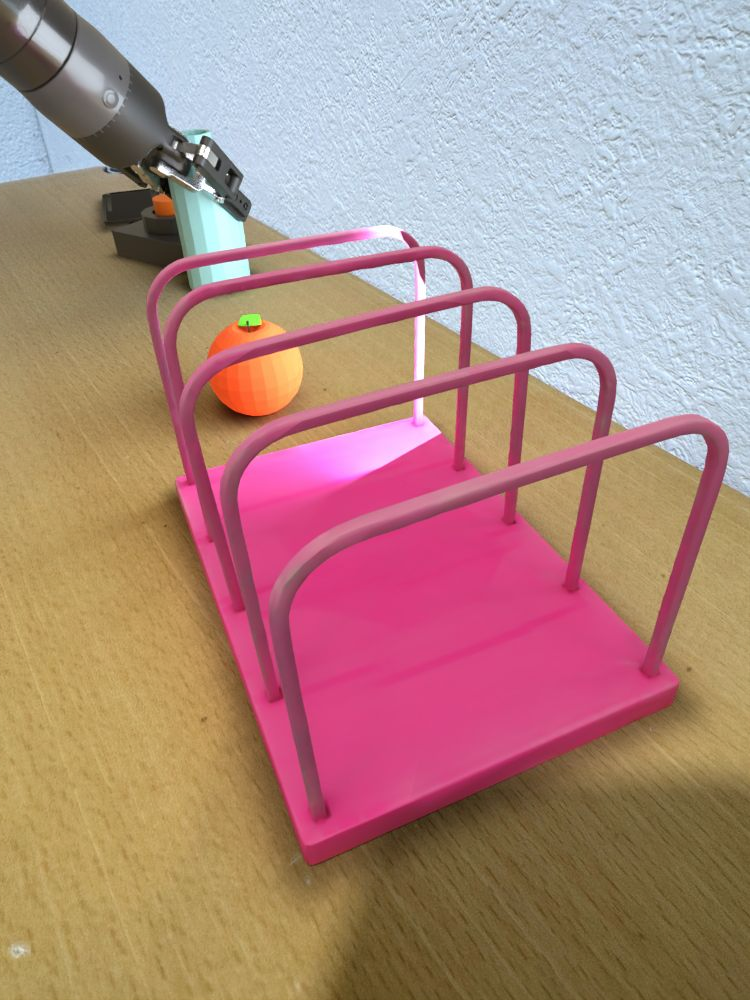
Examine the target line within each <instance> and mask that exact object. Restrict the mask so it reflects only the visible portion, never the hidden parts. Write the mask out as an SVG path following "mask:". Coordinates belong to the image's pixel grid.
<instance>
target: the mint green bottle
mask: <svg viewBox="0 0 750 1000" xmlns="http://www.w3.org/2000/svg"><path fill="white" fill-rule="evenodd" d="M180 132H181V133H182V134H184V136H185V137H186V138H187V140H188V141H190V142H191V143H194V144H199V142H200V140H201V137H202V136H208V137H210V138H211V139H213V138H212V137H213V136H212V131H211V130H210V129H206V128H194V129H186V130H182V131H180ZM194 175H195V168H194V166H193V165H192V167H191V169H190V172H189V174H188V176H187V177H186V178H188V179H189V180H191V181H192V180H193V177H194ZM168 182H169V187H170V192H171V197H172V202H173V206H174V211H175V216H176V221H177V226H178V231H179V236H180V241H181V246H182V250H183V255H184V258H186V257H189V256H195V255H200V254H205V253H211V252H217V251H222V250H228V249H234V248H240V247H246V246H247V243H246V235H245V228H244V222H240V221H237V220H236V219H235V218H233V217H232V216H231V215H230V214H229V213H228V212H227V211H226V210H225V209H223V208H222V207H221V206H220V205H219V204H218V203H217V202H216V201H214V200H213V199H211V198H210V197H208V196H207V195H205V194H203V193H202V192H200V191H198V192H196V193H192V192H190V191H188V190H187V189H185V188H184V187H182V186H180V185H179V184H177V183H175V182H174V181H172V180H171V179H169V178H168ZM205 183H206V184H207V185H208V186H210V187H211V188H213V186H212V185H211V184H210V183H209V182H208V181H207V180H206V179H205ZM213 189H214V188H213ZM186 275H187V279H188V284H189V287H190V289H191V291H192V290H194V289H196V288H197V287H200V286H202V285H205V284H209V283H213V282H218V281H222V280H227V279H233V278H238V277H243V276H249V275H251V271H250V263H249V259H244V260H238V261H232V262H227V263H221V264H215V265H209V266H204V267H199V268H194V269H190V270H187V272H186Z"/></svg>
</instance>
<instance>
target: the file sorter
mask: <svg viewBox="0 0 750 1000" xmlns="http://www.w3.org/2000/svg"><path fill="white" fill-rule="evenodd" d="M377 238H393V239H396V240H399V241H401V242H402V243H404V244H405V245H406V246H407V248H401V249H397V250H389V251H385V252H379V253H372V254H366V255H360V256H354V257H347V258H342V259H335V260H330V261H329V260H328V261H323V262H318V263H312V264H306V265H300V266H295V267H294V266H293V267H287V268H283V269H277V270H271V271H265V272H260V273H255V274H250V275H249V276H243V277H238V278H233V279H227V280H222V281H218V282H213V283H209V284H205V285H202V286H200V287H197V288H196V289H194V290H192V289H191V291H189V292H187V293H186V294H185V295H184V296H183V297H181V298H180V300H179V301H178V302H177V303H176V304H174V306H173V308H172V309H171V311H170V313H169V314H168V317H167V319H166V321H165V325H164V329H163V334H162V330H161V329H162V328H161V325H160V319H159V311H158V303H159V299H160V297H161V296H162V292H163V290H164V288H165V286H166V285H167V284H168V283H169V282H170V281H172V279H174V277H176V276H177V275H179V274H181V273H184V272H183V271H187V270H190V269H194V268H199V267H204V266H209V265H215V264H221V263H227V262H232V261H238V260H244V259H248V260H250V259H255V258H261V257H262V258H263V257H267V256H274V255H278V254H283V253H288V252H295V251H301V250H308V249H312V248H318V247H325V246H335V245H339V244H345V243H349V242H350V243H351V242H352V243H353V242H358V241H365V240H371V239H377ZM428 259H434V260H441V261H444V262H447V263H448V264H450V266H451V267H453V268H454V270H455V271H456V273H457V276H458V277H459V282H460V290H457V291H454V292H449V293H443V294H439V295H436V296H431V297H426V263H425V260H428ZM405 263H406V264H407V263H414V265H413V266H414V301H409V302H405V303H401V304H397V305H392V306H388V307H383V308H380V309H374V310H371V311H367V312H363V313H362V312H361V313H358V314H354V315H351V316H347V317H342V318H339V319H338V318H337V319H334V320H331V321H330V320H329V321H326V322H323V323H318V324H314V325H310V326H307V327H302V328H299V329H294V330H291V331H285V332H286V333H282V334H279V335H275V336H271V337H267V338H263V339H259V340H256V341H252V342H248V343H245V344H241V345H237V346H234V347H231V348H228V349H225V350H223V351H220V352H219V353H217V354H215V355H213V356H211V357H210V358H208V359H207V358H206V359H205V361H204V360H203V362H201V363H200V365H199V366H198V367H197V368H196V369H195V370H194V371H193V373H192V374H191V375H190V376H189V377H188V379H187V381H186V383H185V384H184V378H183V374H182V369H181V365H180V359H179V353H178V348H177V347H178V346H177V338H178V332H179V329H180V327H181V324H182V322H183V320H184V318H185V316H186V315H187V314H188V313H189V312H190V311H191V310H192V309H193V308H195V307H196V306H197V305H199V304H201V303H202V302H204V301H206V300H210V299H212V298H216V297H220V296H224V295H231V294H234V293H241V292H245V291H251V290H256V289H261V288H268V287H273V286H278V285H283V284H284V285H285V284H289V283H295V282H302V281H306V280H311V279H312V280H313V279H318V278H322V277H323V278H324V277H328V276H334V275H342V274H347V273H352V272H355V271H361V270H369V269H371V270H372V269H376V268H382V267H385V266H391V265H400V264H405ZM481 302H497V303H501V304H503V305H505V306H506V307H507V308H508V309H509V310H511V312H512V314H513V317H514V319H515V322H516V349H515V354H514V355H510V356H507V357H503V358H498V359H494V360H491V361H490V360H489V361H487V362H483V363H479V364H475V365H471V352H472V337H473V335H472V334H473V318H474V317H473V315H474V304H476V303H481ZM460 307H461V309H460V330H459V348H458V349H459V351H458V369H455V370H451V371H447V372H443V373H439V374H436V375H431V376H428V377H424V376H425V375H424V374H425V371H424V370H425V339H426V337H425V328H426V327H425V325H426V315H429V314H433V313H437V312H441V311H447V310H450V309H455V308H460ZM145 311H146V312H145V313H146V319H147V325H148V328H149V333H150V337H151V342H152V347H153V351H154V355H155V359H156V363H157V368H158V371H159V375H160V379H161V384H162V388H163V391H164V392H163V393H164V395H165V400H166V404H167V408H168V412H169V416H170V420H171V423H172V427H173V428H172V429H173V432H174V435H175V440H176V443H177V448H178V452H179V455H180V459H181V463H182V467H183V472H184V474H182V475H178V476H176V478H175V479H174V483H175V484H174V485H175V488H176V492H177V493H176V494H177V497H178V500H179V504H180V506H181V509H182V513H183V515H184V518H185V520H186V523H187V526H188V529H189V532H190V535H191V538H192V541H193V544H194V547H195V550H196V552H197V555H198V558H199V561H200V564H201V566H202V569H203V572H204V576H205V578H206V581H207V584H208V586H209V590H210V593H211V596H212V598H213V601H214V604H215V607H216V611H217V612H218V613H217V614H218V615H219V618H220V621H221V624H222V628H223V630H224V633H225V635H226V639H227V641H228V645H229V647H230V650H231V654H232V656H233V659H234V663H235V665H236V667H237V670H238V673H239V676H240V680H241V681H242V685H243V688H244V690H245V694H246V696H247V700H248V702H249V705H250V707H251V710H252V714H253V717H254V720H255V722H256V725H257V728H258V731H259V734H260V737H261V739H262V742H263V745H264V749H265V751H266V754H267V757H268V759H269V762H270V765H271V768H272V772H273V774H274V777H275V779H276V782H277V786H278V787H279V790H280V794H281V796H282V800H283V802H284V805H285V809H286V811H287V814H288V817H289V819H290V823H291V824H292V829H293V831H294V835H295V837H296V840H297V843H298V846H299V849H300V852H301V855H302V858H303V860H304V862H305V863H306V864H307V865H311V866H315V865H317V864H320V863H323V862H325V861H327V860H329V859H332V858H334V857H336V856H337V855H341V854H342V853H345V852H347V851H349V850H351V849H354V848H356V847H358V846H360V845H362V844H365V843H367V842H369V841H372V840H374V839H377V838H378V837H380V836H383V835H385V834H387V833H389V832H392V831H394V830H396V829H398V828H400V827H403V826H405V825H408V824H409V823H412V822H415V821H416V820H418V819H420V818H423V817H425V816H428V815H429V814H432V813H434V812H436V811H439V810H441V809H443V808H445V807H447V806H449V805H451V804H454V803H456V802H459V801H461V800H463V799H465V798H467V797H470V796H472V795H474V794H477V793H479V792H480V791H483V790H485V789H488V788H489V787H492V786H495V785H496V784H498V783H501V782H503V781H506V780H507V779H510V778H512V777H515V776H517V775H519V774H521V773H523V772H526V771H528V770H530V769H533V768H534V767H537V766H539V765H541V764H544V763H546V762H548V761H550V760H553V759H555V758H557V757H560V756H562V755H565V754H566V753H568V752H571V751H574V750H575V749H578V748H580V747H582V746H584V745H586V744H588V743H591V742H593V741H596V740H597V739H600V738H603V737H604V736H607V735H608V734H611V733H613V732H615V731H618V730H619V729H622V728H624V727H626V726H629V725H631V724H633V723H635V722H637V721H639V720H642V719H644V718H646V717H648V716H651V715H653V714H655V713H658V712H660V711H662V710H664V709H666V708H669V707H670V706H672V704H673V703H674V700H675V697H676V694H677V691H678V688H679V685H680V681H681V680H680V679H679V676H677V674H676V673H675V672H673V670H671V668H670V667H669V666H668V665H667V664H666V663H665V661H663V659H664V655H665V652H666V649H667V647H668V643H669V640H670V638H671V635H672V632H673V628H674V625H675V623H676V619H677V617H678V614H679V612H680V608H681V606H682V602H683V600H684V597H685V594H686V591H687V588H688V585H689V582H690V578H691V576H692V575H693V570H694V567H695V564H696V562H697V558H698V555H699V553H700V550H701V546H702V544H703V541H704V538H705V535H706V532H707V530H708V526H709V523H710V520H711V517H712V514H713V511H714V509H715V506H716V503H717V499H718V496H719V494H720V491H721V487H722V485H723V481H724V478H725V475H726V471H727V467H728V463H729V462H728V461H729V457H730V456H729V455H730V442H729V438H728V435H727V434H726V432H725V430H723V429H722V428H721V426H720V425H718V424H717V423H715V422H713V421H712V420H710V419H709V418H707V417H705V416H702V415H700V414H697V413H684V414H679V415H678V414H677V415H674V416H669V417H665V418H662V419H659V420H656V421H651V422H649V423H645V424H642V425H638V426H635V427H632V428H629V429H626V430H622V431H619V432H615V433H613V434H610V429H611V424H612V419H613V413H614V408H615V404H616V397H617V385H618V379H617V373H616V370H615V367H614V365H613V364H612V361H611V360H610V359H609V357H608V356H607V355H605V353H603V352H602V351H601V350H599V349H597V348H596V347H594V346H592V345H589V344H586V343H583V342H567V343H562V344H556V345H551V346H547V347H543V348H538V349H534V350H532V324H531V323H532V322H531V317H530V314H529V311H528V309H527V307H526V306H525V304H524V303H523V302H522V301H521V299H519V297H517V296H515V295H514V294H513V293H511V292H510V291H508V290H506V289H504V288H502V287H498V286H493V285H492V286H491V285H482V286H478V287H474V284H473V277H472V274H471V272H470V270H469V266H468V265H467V264H466V262H465V261H464V260H463V259H462V258H461V257H460V256H459V255H458V254H456V253H455V252H453V251H452V250H450V249H448V248H445V247H442V246H439V245H422V246H421V245H420V244H419V242H418V241H417V240H416V239H415V238H414V237H413V236H412V235H411V234H410V233H408V232H407V231H405V230H403V229H402V228H399V227H396V226H393V225H376V226H368V227H367V226H366V227H361V228H360V227H359V228H354V229H346V230H340V231H334V232H328V233H319V234H313V235H308V236H301V237H295V238H288V239H284V240H277V241H271V242H264V243H259V244H253V245H246V247H240V248H234V249H228V250H222V251H217V252H211V253H205V254H200V255H195V256H189V257H186V258H182V259H179V260H177V261H175V262H173V263H171V264H169V265H168V266H167V267H163V268H162V269H161V270H160V272H159V273H158V274H157V275H156V276H155V277H154V279H153V281H152V283H151V285H150V287H149V289H148V291H147V295H146V302H145ZM413 318H414V347H413V348H414V349H413V353H414V363H413V381H409V382H405V383H401V384H398V385H394V386H390V387H386V388H382V389H378V390H375V391H371V392H367V393H364V394H363V393H362V394H360V395H356V396H352V397H349V398H344V399H340V400H337V401H333V402H330V403H327V404H322V405H319V406H316V407H311V408H308V409H305V410H301V411H298V412H294V413H291V414H287V415H285V416H281V417H277V418H276V419H273V420H271V421H268V422H267V423H265V424H264V425H261V426H260V427H258V428H257V429H256V430H254V431H252V432H251V433H250V434H249V435H248V436H247V437H246V438H245V439H244V440H243V441H241V442H240V444H239V445H238V446H236V448H235V449H234V450H233V451H232V453H231V455H230V456H229V458H228V459H227V461H226V463H225V464H221V465H218V466H213V467H210V468H209V467H208V468H207V466H206V462H205V459H204V454H203V451H202V446H201V442H200V439H199V434H198V431H197V426H196V420H195V418H196V417H195V409H196V403H197V401H198V398H199V396H200V394H201V392H202V391H203V389H204V387H205V386H206V385H207V384H208V383H209V380H210V379H211V378H212V377H213V376H214V375H216V374H217V373H219V372H220V371H221V370H223V369H224V368H227V367H229V366H232V365H234V364H238V363H241V362H244V361H247V360H251V359H254V358H258V357H262V356H266V355H269V354H273V353H277V352H281V351H284V350H288V349H292V348H295V347H298V348H299V347H303V346H306V345H310V344H314V343H319V342H321V341H325V340H329V339H333V338H337V337H342V336H346V335H349V334H352V333H356V332H359V331H360V332H361V331H365V330H367V329H371V328H375V327H380V326H385V325H388V324H393V323H398V322H402V321H406V320H409V319H413ZM575 359H577V360H578V359H579V360H585V361H588V362H590V363H592V365H593V366H594V368H595V369H596V372H597V374H598V380H599V392H598V398H597V406H596V413H595V414H596V415H595V418H594V423H593V427H592V433H591V440H589V441H586V442H582V443H578V444H576V445H573V446H570V447H567V448H563V449H561V450H558V451H554V452H551V453H548V454H545V455H542V456H539V457H535V458H532V459H529V460H525V461H522V453H523V452H522V450H523V441H524V440H523V439H524V429H525V418H526V410H527V409H526V408H527V407H526V406H527V399H528V398H527V397H528V385H529V373H530V370H534V369H537V368H540V367H543V366H544V367H545V366H548V365H552V364H556V363H561V362H564V361H568V360H575ZM509 375H510V376H511V375H514V381H513V395H512V407H511V408H512V411H511V422H510V424H511V425H510V426H511V427H510V432H509V449H508V455H507V466H506V467H503V468H501V469H498V470H494V471H492V472H489V473H486V474H482V473H481V472H480V471H479V470H478V468H476V466H474V465H473V464H472V462H470V460H469V459H468V458H466V456H465V452H466V440H467V439H466V437H467V420H468V404H469V386H472V385H475V384H479V383H483V382H487V381H490V380H491V381H492V380H495V379H499V378H501V377H502V378H503V377H506V376H509ZM453 390H456V410H455V411H456V414H455V426H454V427H455V428H454V429H455V431H454V444H453V443H452V442H451V441H450V440H449V439H448V438H447V437H446V435H444V434H443V433H442V431H440V430H439V428H438V427H437V426H436V425H434V423H433V422H431V420H430V419H429V418H428V417H427V416H426V415H425V414H424V398H427V397H430V396H434V395H438V394H441V393H445V392H449V391H453ZM409 402H413V414H412V415H413V416H412V417H408V418H404V419H403V418H402V419H400V420H395V421H391V422H387V423H383V424H379V425H375V426H371V427H367V428H363V429H359V430H355V431H352V432H348V433H344V434H339V435H336V436H332V437H327V438H323V439H320V440H319V439H318V440H315V441H312V442H311V441H310V442H308V443H303V444H299V445H296V446H292V447H288V448H284V449H280V450H275V451H271V452H268V453H265V454H261V452H263V451H264V450H266V449H267V448H268V447H269V446H271V445H272V444H274V443H276V442H278V441H280V440H282V439H284V438H286V437H290V436H293V435H295V434H299V433H302V432H306V431H308V430H309V431H310V430H312V429H315V428H320V427H323V426H326V425H330V424H333V423H338V422H340V421H345V420H347V419H352V418H354V417H360V416H364V415H367V414H370V413H374V412H376V411H380V410H384V409H386V408H391V407H394V406H400V405H402V404H406V403H409ZM688 435H699V436H701V437H702V438H703V440H704V442H705V445H706V449H707V450H706V456H705V459H704V467H703V470H702V474H701V476H700V479H699V483H698V486H697V491H696V493H695V497H694V499H693V502H692V506H691V510H690V513H689V516H688V518H687V522H686V525H685V529H684V532H683V535H682V537H681V541H680V544H679V546H678V551H677V553H676V556H675V559H674V561H673V567H672V568H671V569H672V570H671V573H670V575H669V578H668V582H667V585H666V589H665V591H664V594H663V597H662V599H661V604H660V608H659V610H658V614H657V616H656V617H657V618H656V621H655V623H654V624H655V626H654V629H653V631H652V635H651V638H650V641H649V644H648V645H647V644H646V643H645V642H644V640H642V639H641V638H640V636H639V635H638V634H636V632H635V631H634V630H633V629H632V628H631V627H630V626H629V625H628V624H627V623H626V622H625V621H624V620H623V619H622V618H621V617H620V616H619V614H617V613H616V612H615V610H613V609H612V608H611V607H610V606H609V605H608V603H606V602H605V601H604V600H603V599H602V598H601V596H599V594H598V593H596V592H595V590H594V589H593V588H592V587H591V586H590V585H589V584H588V583H587V582H586V581H585V580H584V579H583V578H582V577H581V573H582V569H583V563H584V559H585V554H586V548H587V544H588V539H589V535H590V530H591V525H592V520H593V514H594V511H595V505H596V499H597V496H598V490H599V485H600V480H601V475H602V471H603V466H604V461H605V460H608V459H611V458H615V457H617V456H620V455H624V454H627V453H630V452H632V451H637V450H639V449H642V448H645V447H649V446H652V445H654V444H658V443H661V442H664V441H668V440H672V439H674V438H678V437H682V436H688ZM259 454H260V455H259ZM583 467H586V469H585V473H584V477H583V484H582V489H581V492H580V493H581V494H580V500H579V505H578V510H577V515H576V521H575V527H574V531H573V536H572V541H571V546H570V552H569V558H568V562H566V560H565V559H564V558H563V557H562V556H561V555H560V554H559V553H558V552H557V551H556V550H555V549H554V548H553V547H552V545H550V544H549V543H548V542H547V540H545V538H543V536H542V535H540V533H539V532H538V531H537V530H536V529H535V528H534V527H533V526H532V525H531V524H530V523H529V522H528V521H527V519H525V518H524V517H523V515H521V514H520V512H518V511H517V503H518V496H519V495H518V494H519V488H522V487H525V486H528V485H531V484H534V483H537V482H540V481H544V480H546V479H547V480H548V479H550V478H553V477H556V476H559V475H562V474H566V473H569V472H571V471H575V470H578V469H582V468H583ZM504 493H505V494H504ZM502 494H504V496H503V495H502Z"/></svg>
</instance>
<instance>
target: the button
mask: <svg viewBox="0 0 750 1000" xmlns="http://www.w3.org/2000/svg"><path fill="white" fill-rule="evenodd" d="M159 194H160V195H157V196H155V197H153V198H152V201H153V206H154V210H155V215H160V216H168V215H175V211H174V206H173V202H172V200H171V199H170V198H169V197H168V196H167V195H165V194H161V193H159Z"/></svg>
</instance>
